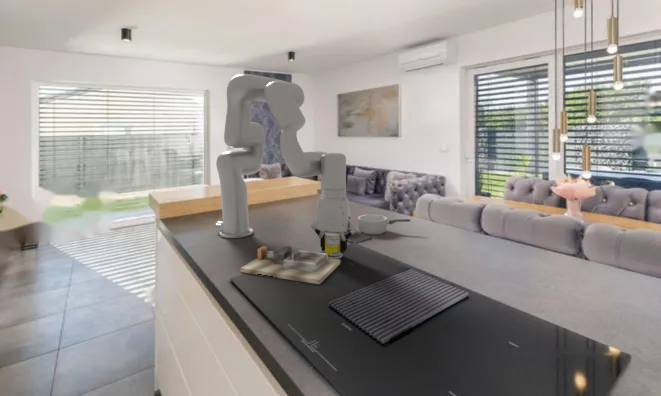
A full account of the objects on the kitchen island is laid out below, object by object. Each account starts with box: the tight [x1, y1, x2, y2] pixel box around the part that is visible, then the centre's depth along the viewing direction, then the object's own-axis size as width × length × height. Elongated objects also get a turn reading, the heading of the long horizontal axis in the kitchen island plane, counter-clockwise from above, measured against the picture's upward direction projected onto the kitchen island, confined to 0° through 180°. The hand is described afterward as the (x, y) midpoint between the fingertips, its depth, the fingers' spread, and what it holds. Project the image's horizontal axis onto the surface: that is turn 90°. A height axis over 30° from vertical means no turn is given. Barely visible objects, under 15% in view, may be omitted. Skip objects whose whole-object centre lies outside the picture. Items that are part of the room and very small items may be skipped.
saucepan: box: [357, 214, 411, 235], centre depth 142 cm, size 12×20×6 cm, turn 78°
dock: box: [240, 244, 341, 285], centre depth 106 cm, size 24×16×5 cm, turn 69°
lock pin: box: [257, 245, 286, 260], centre depth 109 cm, size 8×3×3 cm, turn 69°
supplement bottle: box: [324, 231, 344, 259], centre depth 114 cm, size 6×6×10 cm
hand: (333, 250), depth 115 cm, fingers closed on supplement bottle, 5 cm apart
